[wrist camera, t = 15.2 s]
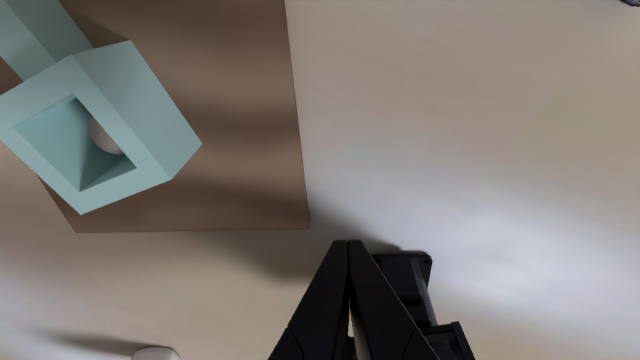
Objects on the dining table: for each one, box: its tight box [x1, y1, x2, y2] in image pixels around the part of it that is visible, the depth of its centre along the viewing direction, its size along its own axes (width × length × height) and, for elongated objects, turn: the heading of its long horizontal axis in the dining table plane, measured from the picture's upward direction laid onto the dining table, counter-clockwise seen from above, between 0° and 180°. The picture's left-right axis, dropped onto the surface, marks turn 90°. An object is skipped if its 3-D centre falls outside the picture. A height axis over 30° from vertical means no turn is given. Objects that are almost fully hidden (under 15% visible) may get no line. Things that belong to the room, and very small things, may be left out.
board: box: [0, 0, 310, 233], centre depth 18 cm, size 20×20×4 cm
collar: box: [0, 0, 202, 215], centre depth 16 cm, size 12×7×4 cm, turn 23°
